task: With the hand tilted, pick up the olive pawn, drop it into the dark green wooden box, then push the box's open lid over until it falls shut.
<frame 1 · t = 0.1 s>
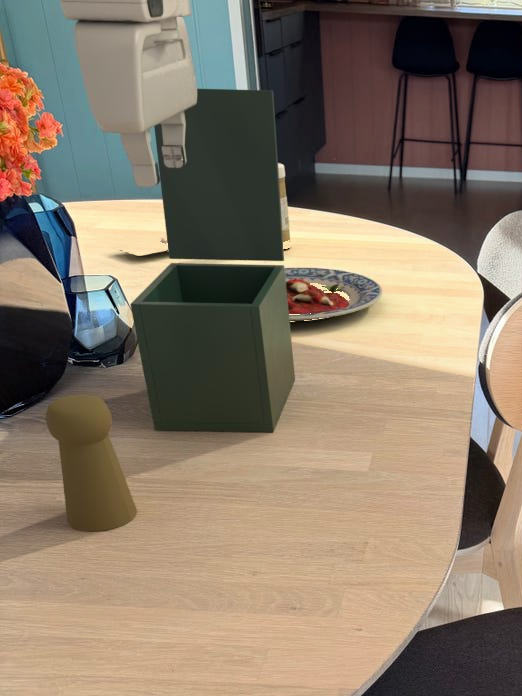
hand: (163, 176, 84), 25 cm above the table, tool pointing down, fingers open, 8 cm apart
touchpad: (165, 252, 161), on the table
box: (229, 403, 107), on the table
ceramic plate: (295, 307, 138), on the table
olive pawn: (103, 517, 85), on the table
sprinkles bottle: (279, 249, 165), on the table
lid: (219, 177, 102), point 22 cm above the table, hinge at 100.8°
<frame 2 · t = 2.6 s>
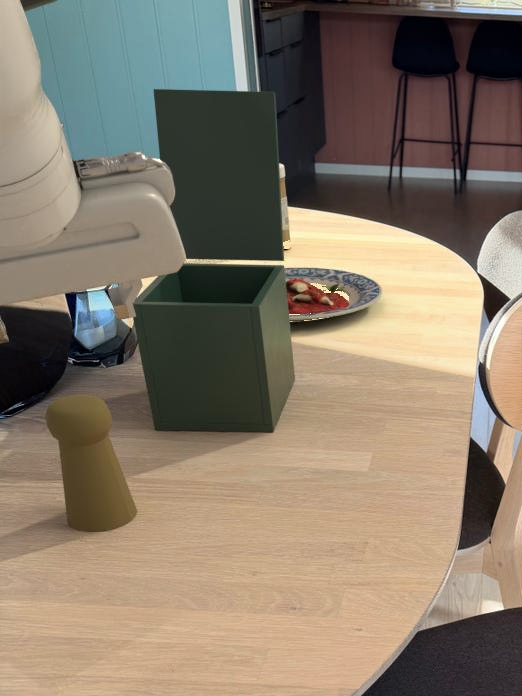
hand: (62, 324, 71), 18 cm above the table, tool tilted 30°, fingers open, 8 cm apart
lid: (221, 177, 102), point 22 cm above the table, hinge at 105.1°
everything else where it was.
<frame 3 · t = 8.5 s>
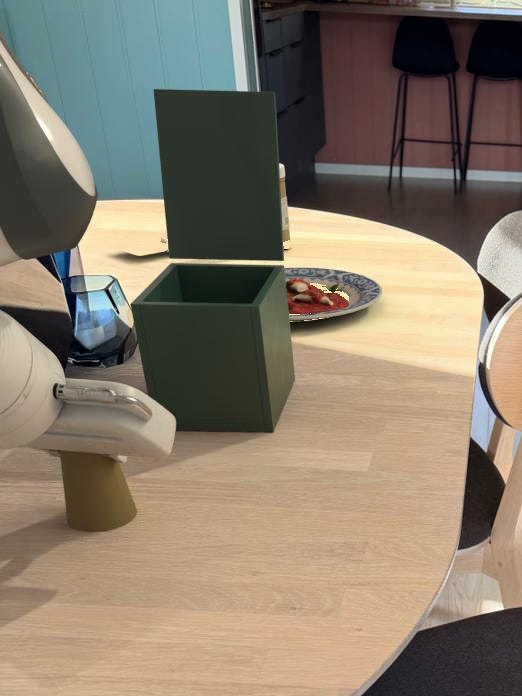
hand: (91, 451, 82), 6 cm above the table, tool tilted 45°, fingers closed on olive pawn, 4 cm apart
olive pawn: (103, 517, 85), on the table, touching gripper
everything else where it was.
when the fingers open (17 cm above the table, at t = 17.8 s): olive pawn drops 10 cm, resting on box.
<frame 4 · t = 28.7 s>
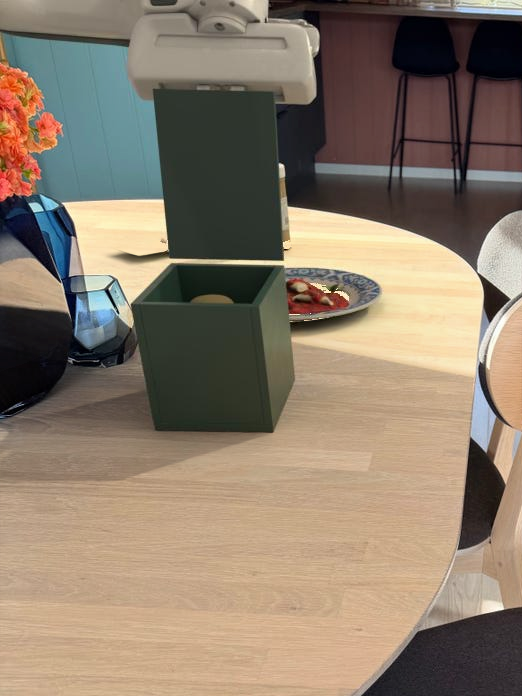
hand: (220, 130, 101), 26 cm above the table, tool tilted 45°, fingers closed
olive pawn: (224, 397, 107), point 1 cm above the table, touching box
lid: (220, 177, 102), point 22 cm above the table, hinge at 104.0°, touching gripper
everything else where it was.
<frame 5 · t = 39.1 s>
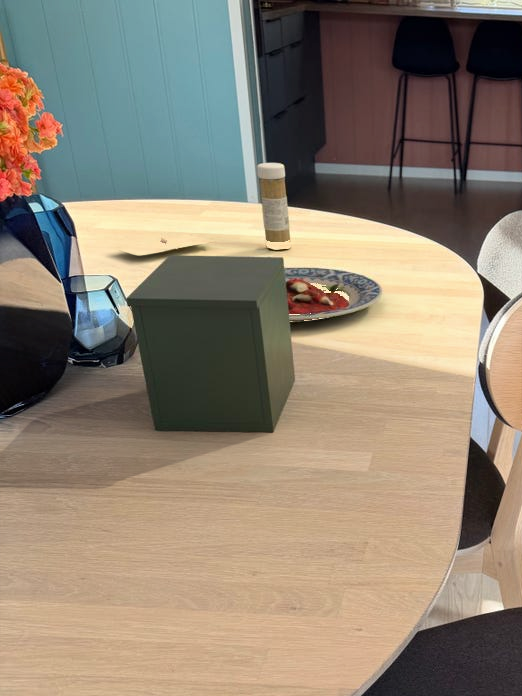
lid: (210, 280, 98), point 14 cm above the table, hinge at -0.1°
everything else where it was.
at the end: olive pawn inside the target area in the box (0.5 cm from its centre), point 0.7 cm above the box's base; lid at +0° (first picture: +101°) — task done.
